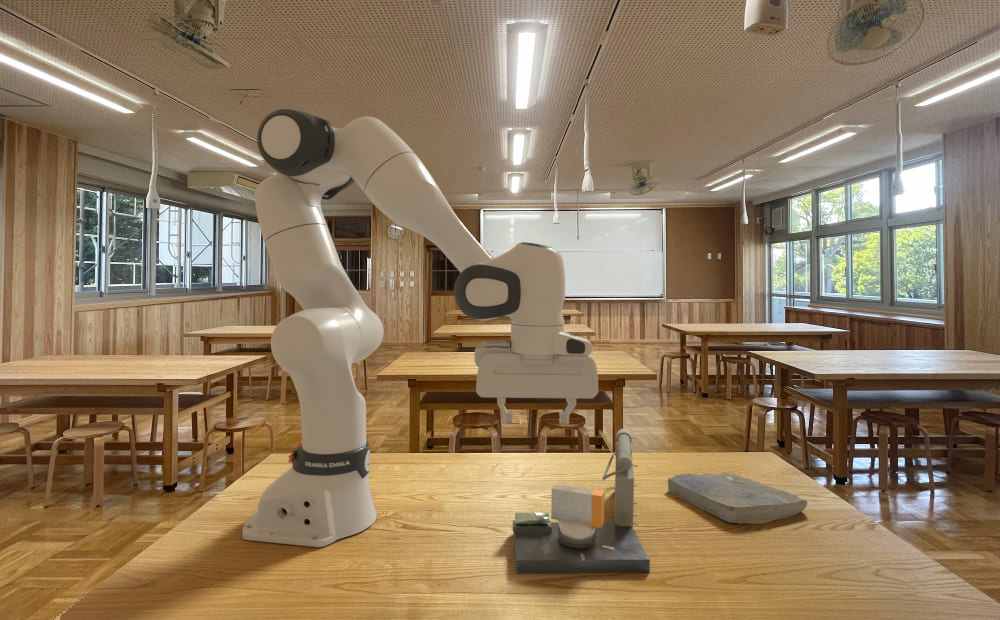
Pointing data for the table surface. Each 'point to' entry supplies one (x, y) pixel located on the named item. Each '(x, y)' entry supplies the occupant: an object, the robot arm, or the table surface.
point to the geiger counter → (623, 479)
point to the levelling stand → (575, 549)
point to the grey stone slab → (735, 497)
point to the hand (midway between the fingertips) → (535, 423)
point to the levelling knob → (577, 514)
